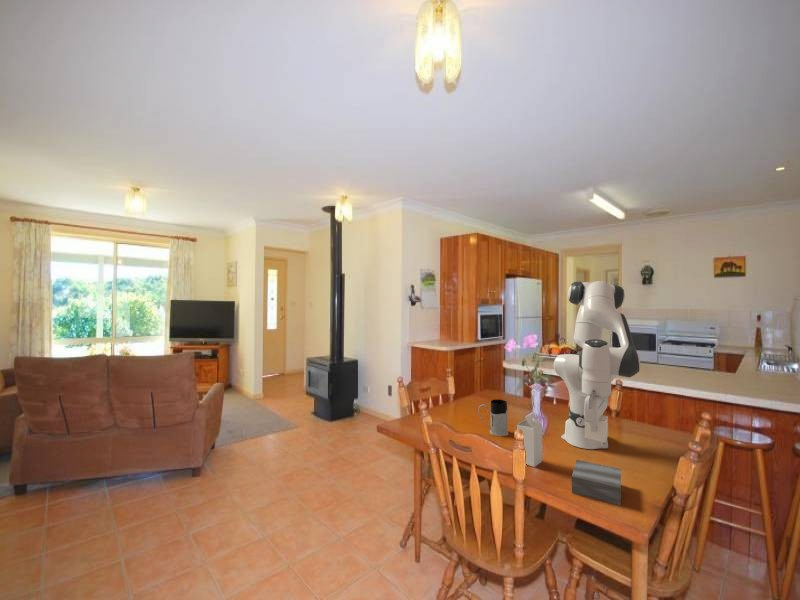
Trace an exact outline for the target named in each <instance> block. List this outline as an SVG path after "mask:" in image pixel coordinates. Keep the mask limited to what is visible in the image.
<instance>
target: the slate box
mask: <svg viewBox="0 0 800 600" xmlns="http://www.w3.org/2000/svg"><path fill="white" fill-rule="evenodd" d="M572 471H573V472H572V475H571V494H573V495H578V496H581V497H586V498H588V499H589V498H590V499H594V500H598V501H602V502H606V503H609V504H613V505H616V506H621V505H622V504H621V503H622V502H621V499H622V498H621V497H622V490H621V489H622V469H621V468H618V467H612V466H608V465H604V464H599V463H595V462H590V461H585V460H579V459H575V464H574V467H573V470H572Z"/></svg>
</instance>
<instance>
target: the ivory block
mask: <svg viewBox="0 0 800 600" xmlns="http://www.w3.org/2000/svg"><path fill="white" fill-rule="evenodd" d="M608 437H609V416H608V415H604V414H603V415H602V416H601V417H600V418H599V420H598V421H597V432H592V431H591V426H590V422H586V421H585V438H588V439H592V440H597V441H601V442H605V441H606V439H607V440H608Z"/></svg>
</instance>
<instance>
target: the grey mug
mask: <svg viewBox="0 0 800 600" xmlns="http://www.w3.org/2000/svg"><path fill="white" fill-rule="evenodd" d="M482 406H483V407H486V412H487V413H488V414H490V424H489V423H487V422H486V421H485V420H484V419H483V418H482V416H481V413H480V411H478V415H479V417H480V419H481V421H482V422H483V423H485V424H486V425H487V426H488V427H489V433H490V434H491V435H493V436H497V437H505V436H508V435H509V431H508V425H509V424H508V422H509V421H508V401H506V400H504V399H492V400H490V411H489V408H488V406H487V405H486V404H480V405H479V407H478V410H480V408H481V407H482Z"/></svg>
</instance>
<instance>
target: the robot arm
mask: <svg viewBox="0 0 800 600" xmlns="http://www.w3.org/2000/svg"><path fill="white" fill-rule="evenodd" d="M625 297H626V295H625V290H624V288H623V287H622V286H619V285H617V284H610V283H608V282H607V281H602V280H596V281H591V282H590V281H574V282H572V283H571V284H570V286H569V288H568V289H567V298H568V301H569V302H570V303H571V304H573V305H576V306H578V305H579V309H578V311H577V315H576V319H575V325H574V332H573V341H574V342H575V344H576V345H577V346H578V347H579V348H582V349H581V350H580V351H579V352H578V354H574V353H573V354H572V353H563V354H559V355H557V356H556V358H554V361H553V369H554V372H555V373H556V374H557V375H558V377H560V378H561V379H562V381H563V382H564V383H565V386H566V388H567V390H568V395H569V409H568V417H569V418H568V419H567V420H566V421H565V426H564V427H565V428H564V429H565V430H564V433H563V434H562V435H561V439H563V440H565V441H566V442H567V443H568V444H569V445H571V446H573V447H576V448H580V449H587V450H597V449H608V448H609V443H608V438H607V439H606V441H605V442H601V441H597V440H592V439H588V438H585V421H586V422H590V426H591V431H592V432H597V421H598V420H599V418H600V417H601V416H602V415H604V413H605V411H606V409H608V405H609V396H611V395H612V382H613V381H614V380H615V378H616V377H617V376H619V377H623V378H624V377H625V378H632V377H635V376H636V375H637V374H638V373H639V372H640V370H641V369H640V368H641V360H640V356H639V354H638V352H637V349H636V346H635V344H634V340H633V336H632V333H631V329H630V327H629V323H628V321H627V318H626V316H625V314H623V313H622V312H620V311H619V310H618V309H619V308H621V307H622V305H623V303H624V301H625V299H626V298H625ZM603 329H606V330H609V331H611V332H613V333H615V334H616V335H617V338H618V342H619V345H620V347H610V345H609V342H607V341H606V340H602V339H603Z"/></svg>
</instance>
